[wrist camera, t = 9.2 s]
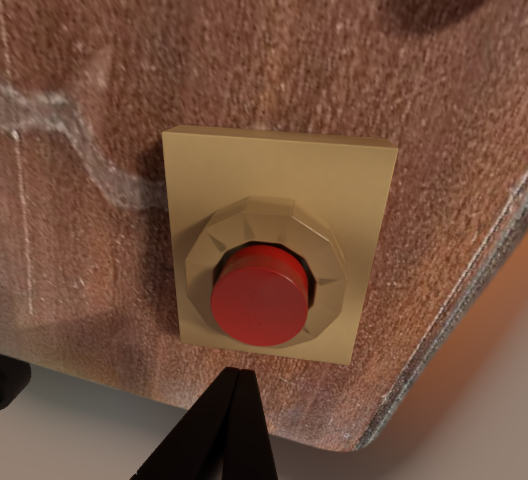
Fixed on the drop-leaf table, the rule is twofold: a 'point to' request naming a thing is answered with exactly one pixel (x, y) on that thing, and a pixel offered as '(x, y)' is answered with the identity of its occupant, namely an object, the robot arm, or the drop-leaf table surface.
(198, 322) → the button block
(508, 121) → the drop-leaf table surface
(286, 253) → the button
